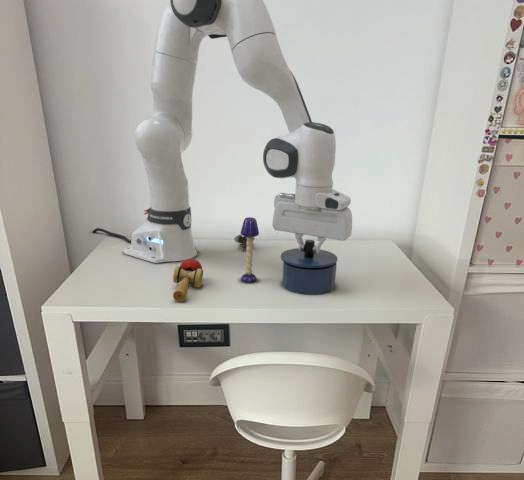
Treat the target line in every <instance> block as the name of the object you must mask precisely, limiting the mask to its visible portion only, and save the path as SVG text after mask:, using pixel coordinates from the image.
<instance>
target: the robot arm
mask: <svg viewBox="0 0 524 480" xmlns="http://www.w3.org/2000/svg"><path fill="white" fill-rule="evenodd" d="M169 3H170V5H168V6H166V7H165V8H164V9H163V11H161V16H160V19H159V23H158V26H157V31H156V36H155V41H154V47H153V48H154V49H153V50H154V51H153V55H152V64H151V65H152V67H151V75H150V82H149V83H150V89H151V93H152V100H153V101H152V102H153V103H152V105H153V115H149V116H147V117H146V118H144V119H143V120H142V121H141V122H140V123H139V124H138V125H137V127H136V129H135V132H134V143H135V146H136V148H137V150H138V151H139V153H140V155H141V158H142V161H143V165H144V168H145V172H146V177H147V181H148V188H149V199H150V207H149V208H148V209H145V210H143V215H147V218H146V220H145V221H144V222H142V224H140V226H138V227H137V228H136V229H134V231H132V233H131V236H130V239H129V238H128V237H126V235H125V236H124V235H122V234H119V233H115V232H111V231H109V230H106V229H104V228H102V227H97V228H95V229H93V230H92V232H91V233H92V234H95V233H97V232H102V233H104V234H107V235H110V236H113V237H117V238H120V239H123V240H124V241H125V242H127V243H129V244H130V245H129V246H127V247H125V248H124V249H123V254H125V255H127V256H131V257H133V258H137V259H141V260H144V261H147V262H151V263H154V264H161V263H166V262H169V263H170V262H181V261H182V262H183V261H184V260H186V259H190V258H192V259H194V258H195V257H196V256H198V252H197V249H196V245H195V242H194V238H193V233H192V207H191V206H190V195H189V179H188V176H187V175H186V173H185V168H184V164H183V159H182V153H184V152H185V151H186V150H187V149H188V148H189V147H190V145H191V143H192V140H193V128H192V127H193V96H194V95H193V93H194V87H195V80H196V74H197V68H198V67H197V66H198V59H199V52H200V51H199V50H200V46H201V43H202V41H203V40H204V38H205V37H207V36H208V37H209V38H210V39H212V40H215V39H220V38H227V41H228V44H229V49H230V51H231V54H232V58H233V61H234V65H235V68H236V70H237V72H238V74H239V77H240V78H241V79H242V81H243V82H244V83H245V84H247V85H248V86H249V87H251V88H253V89H255V90H258V91H259V92H262V93H263V94H265V95H267V96H268V97H269V98H271V99H272V100H273V101H274V102H275V103H276V104H277V106H278V107H279V109H280V112H281V114H282V116H283V119H284V122H285V124H286V127H287V130H288V133H287V134H283V135H280V136H276V137H274V138H271V139H270V140H269V141H268V142H266V145H265V146H264V149H263V153H262V161H263V166H264V168H265V170H266V172H267V173H268V175H270V176H271V177H272V178H276V179H282V180H283V179H289V178H294V179H295V193H285V192H280V193H278V194H276V195H275V197H274V198H273V207H274V210H273V215H272V228H273V229H274V231H277V232H285V233H291V234H294V236H295V237H294V238H295V240H296V242H297V245H298V248H299V251H303V252H305V241H304V240H303V238H302V237H304V236H310V237H316V238H317V240H316V241H317V242H318V243H317V244H315V245H314V246H313V251H312V253H314V254H319V253H320V250H321V247H322V245H324V243H325V242H326V239H329V240H335V241H336V240H337V241H343V242H345V241H346V240H348V239H349V238H350V237H351V236H352V233H353V213H352V210H351V209H350V207H349V206H350V205H351V201H352V199H351V197H350V196H348V195H346V194H344V193H342V192H340V191H338V190H336V189H334V181H333V171H334V169H335V164H336V153H337V152H336V149H337V147H336V143H337V141H336V134H335V131H334V129H332V128H331V126H329V125H327V124H324V123H321V122H313V121H312V118H311V115H310V113H309V110H308V107H307V104H306V102H305V99H304V97H303V94H302V91H301V88H300V87H299V84H298V81H297V79H296V77H295V75H294V74H293V72H292V71H291V69H290V66H289V65H288V63H287V60H286V58H285V57H284V54H283V51H282V49H281V45H280V43H279V39H278V35H277V33H276V30H275V26H274V23H273V20H272V18H271V16H270V12H269V10H268V8H267V6H266V4H265V2H264V0H169Z"/></svg>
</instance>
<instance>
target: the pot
mask: <svg viewBox="0 0 524 480" xmlns="http://www.w3.org/2000/svg"><path fill="white" fill-rule="evenodd" d="M282 262H283V261H282ZM336 276H337V262H336V263H335V264H334V265H331V266H327V267H321V268H306V267H298V266H294V265H290V264H287V263H285V262H283V263H282V286H283V288H284V289H286V291H290V292H292V293H295V294H302V295H322V294H326V293H329V292H332V291H333V290H334V289H335V286H336Z"/></svg>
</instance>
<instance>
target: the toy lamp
mask: <svg viewBox="0 0 524 480" xmlns="http://www.w3.org/2000/svg"><path fill="white" fill-rule="evenodd" d="M259 230H260V229H259V226H258V222H257V219H256V218H254V217H250V216H249V217H245V218H244V219H243V222H242V226H241V230H240V234H241V235H242V237H243V236H247V248H246V249H245V250H246V254H245V256H246V258H245V273H244V274H242V276H241V278H240V281H241V282H242V283H244V284H254V283H256V282H257V281H258V279H257V277H256V274H254V273H253V259H254V258H253V256H254V253H253V250H254V248H253V247H254V240H253V237H254V238H255V236H256V237H257V236H259V235H260V232H259ZM252 240H253V241H252ZM252 246H253V247H252Z"/></svg>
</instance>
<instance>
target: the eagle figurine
mask: <svg viewBox="0 0 524 480" xmlns="http://www.w3.org/2000/svg"><path fill="white" fill-rule="evenodd" d="M255 237H257V236H255ZM255 237H253V240H252V241H253V242H254V241H255ZM234 242H235V243H239V245H240V246H243V247H242V252H244V251H245V250H246V248H247V236H243V235H241V233H240V234H238V235H236V236H234ZM252 247H253V249H254V248H255V247H254V245H253V246H252Z"/></svg>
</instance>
